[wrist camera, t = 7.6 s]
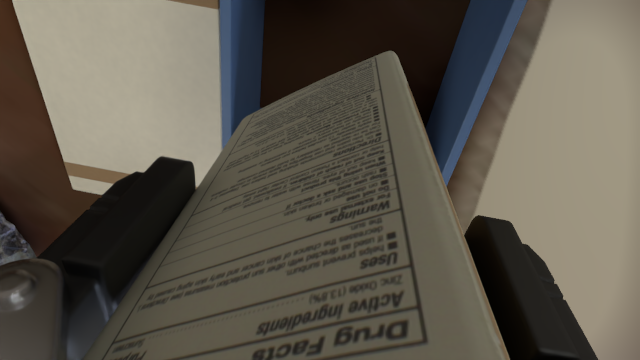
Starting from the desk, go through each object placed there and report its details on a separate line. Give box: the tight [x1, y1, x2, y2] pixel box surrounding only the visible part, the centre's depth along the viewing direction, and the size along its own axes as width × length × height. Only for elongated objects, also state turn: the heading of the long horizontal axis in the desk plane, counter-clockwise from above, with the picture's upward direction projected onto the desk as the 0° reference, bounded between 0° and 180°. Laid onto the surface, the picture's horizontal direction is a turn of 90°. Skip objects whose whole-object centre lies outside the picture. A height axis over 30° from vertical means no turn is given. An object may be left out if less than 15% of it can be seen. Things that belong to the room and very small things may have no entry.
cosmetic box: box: [82, 51, 510, 360], centre depth 8 cm, size 6×4×12 cm
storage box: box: [220, 0, 527, 186], centre depth 22 cm, size 14×13×7 cm
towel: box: [12, 0, 222, 195], centre depth 28 cm, size 15×22×1 cm
